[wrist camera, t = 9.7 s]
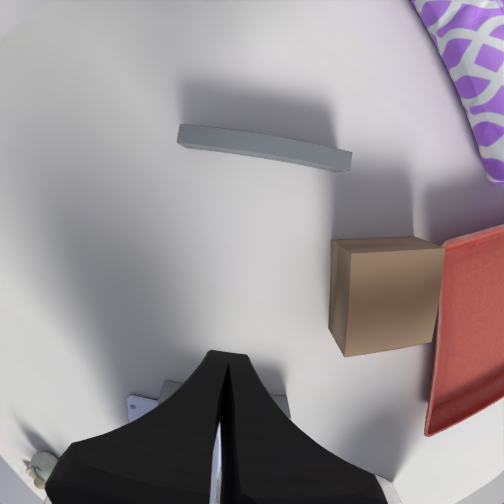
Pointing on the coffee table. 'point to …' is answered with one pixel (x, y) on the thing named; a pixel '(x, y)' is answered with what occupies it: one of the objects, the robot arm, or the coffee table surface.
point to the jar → (389, 491)
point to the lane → (263, 149)
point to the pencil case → (474, 67)
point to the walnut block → (384, 293)
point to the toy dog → (41, 469)
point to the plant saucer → (468, 330)
